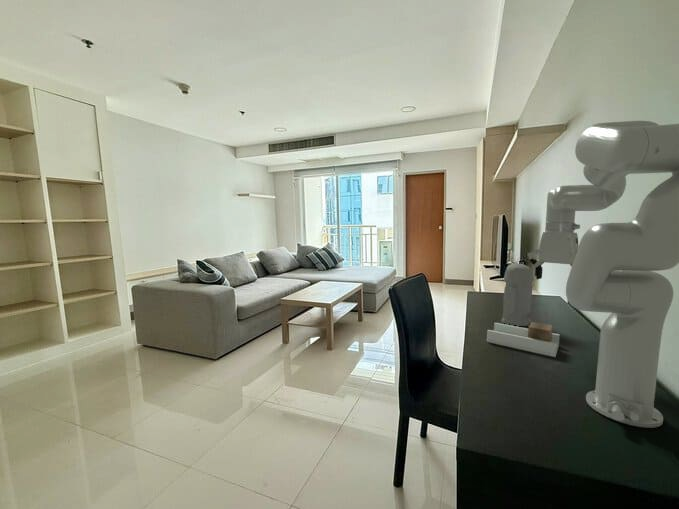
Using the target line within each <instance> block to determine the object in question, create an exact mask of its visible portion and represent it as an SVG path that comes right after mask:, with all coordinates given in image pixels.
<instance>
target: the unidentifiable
mask: <svg viewBox="0 0 679 509" xmlns="http://www.w3.org/2000/svg"><path fill="white" fill-rule="evenodd" d="M533 274H534V273H533V269H531V267H530V266H528V265H526V264H523V263H511V264H509V265H507V267H506V269H505V272H504V276H503V281H504V282H505V286H504V290H503V307H502V308H503V310H502V312H503V314H502V318H501V319H500V322H501V323H502V322H503V323H502V324H504V323H505V324H506V325H509V324H510V325H511V326H514V325H516V326H517V327H519V326H527V325H528V326H529V324H530V323H531V322H532V319H531V318H530V317H529V314H531V311H532V303H533V302H532V300H533V286H532V285H533V281H534V277H533ZM528 326H527V327H528Z"/></svg>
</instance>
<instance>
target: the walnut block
mask: <svg viewBox="0 0 679 509" xmlns="http://www.w3.org/2000/svg"><path fill="white" fill-rule="evenodd" d="M527 327H528V338H532V339H537V340H542V341H547V342H551V339H552V333H553V324H546V323H542V322H536V321H531V324H530V325H528V326H527Z"/></svg>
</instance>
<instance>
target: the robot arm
mask: <svg viewBox="0 0 679 509" xmlns="http://www.w3.org/2000/svg"><path fill="white" fill-rule="evenodd" d="M574 152H575V154H574V155H575V157H576V159H577V160H578V162H580V163H581V164H582V165H584V166H583V171H582V172H583V176H584V178H585V179H586V180H587V181H588V182H589V183H590V184H578V185H577V184H574V185H573V184H572V185H570V184H569V185H561V186H558V187H556V188H555V189H551V190H549V191H548V193H547V197H546V198H547V199H546V212H545V213H546V216H545V227H544V228H545V229H544V230H545V231H542V234H541V238H540V242H539V247H538V249H536V250H533V251H530V252H528V253H526V254H527V257H528V260H529V262H530V263H531V264H532V265H533V266H534V269H535V270H534V276H535V277H536V280H541V279H543V278H542V277H543V266H542V265H543V264H544V263H548V264H549V263H550V264H558V265H559V264H563V265H570V267H571V268H570V271H569V274H568V278H567V281H566V287H565V296H566V299H567V301H568V303H569V304H570V306H572V307H573V308H575V309H576V310H579V311H584V312H590V313H591V312H593V313H609V314H610V315H609V316H608V317H607V318H606V319H605V320H604V322H603V324H602V326H601V329H600V333H599V343H598V355H597V365H596V366H597V367H596V379H595V389H594V390H591V391H588V392H587V393H586V394H585V400H586V403H587V405H589V406H590V407H591V408H592V410H594V411H596V413H597V412H598V413H599V414H600V415H602V416H605V417H606V418H609V419H611V420H614V421H617V422H619V423H622V424H626V425H629V426H633V427H638V428H645V429H646V428H650V429H653V428H658V427H661V426H662V425H663V422H664V416H663V414H662V413H661V412H660V411H659V410H658V409H657V408H655V407H654V406H655V398H656V397H655V395H656V388H657V387H656V386H657V377H658V369H659V368H658V367H659V359H660V358H659V357H660V351H661V350H660V349H661V341H662V337H663V336H662V335H663V329H664V324H665V321H666V318H667V315H668V312H669V310H670V308H671V305H672V303H673V299H674V287H673V285H672V283H671V281H669V279H668V278H667V277H665V276H664V275H662V274H661V273H659V272H660V271H667V270H670V269H673V268H674V267H676V266H677V265H678V264H679V123H669V124H658V123H656V122H653V121H651V120H649V121H648V120H627V121H610V122H599V123H595V124H592V125H591V126H588V127H587V128H586V129H585V130H584V131H583V132H582V133H581V135H580V136H579V137H578V139H577V141H576V145H575V151H574ZM661 173H662V174H665V173H671V174H672V175H671V176H670V177H668V178H667V179H665V180H664V181H662V182H661V183H660V184H658V185H657V186H655V188H653V189H652V190H651V191H650V192H649V193H648V194H647V195H646V196H645V198H644V199H643V201H642V202H641V204H640V207H639V208H638V212H637V215H636V216H635V217H634V219H633V220H632V221H629V222H604V223H599V224H595V225H592V226H591V227H590V228H589V229H587V230H586V231H585V233H584V234H583V235H582V237H581V239H580V241H579V236H578V232H575V230H579V229H580V228H581V224H577V223H576V222H575V218H576V212H597V211H602V210H605V209H608V208H609V207H611V206H612V205H613V204H615V203H617V202H618V201H619V200H620V199H621V198H622V196H623V195H624V192H625V191H626V186H627V176H628V175H637V174H638V175H639V174H661ZM537 254H538V256H537V257H538V258H537V259H538V260H536V258H535V256H536V255H537ZM658 271H659V272H658Z"/></svg>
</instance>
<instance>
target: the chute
mask: <svg viewBox="0 0 679 509" xmlns="http://www.w3.org/2000/svg"><path fill="white" fill-rule="evenodd" d="M493 324H494V325H493V329H492V330H491V329H487V331H486V342H487V343H491V344H495V345H498V346H504V347H509V348H512V349H517V350H522V351H526V352H531V353H535V354H538V355H544V356H549V357H551V358H552V357H553V358H556V356H557V354H558V350H559V345H560V334H559V333H553V332H552V339H551V342H547V341H542V340H537V339H532V338H528V328H527V327H519V326H514V325H509V324H504V323H500V322H494V323H493Z"/></svg>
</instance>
